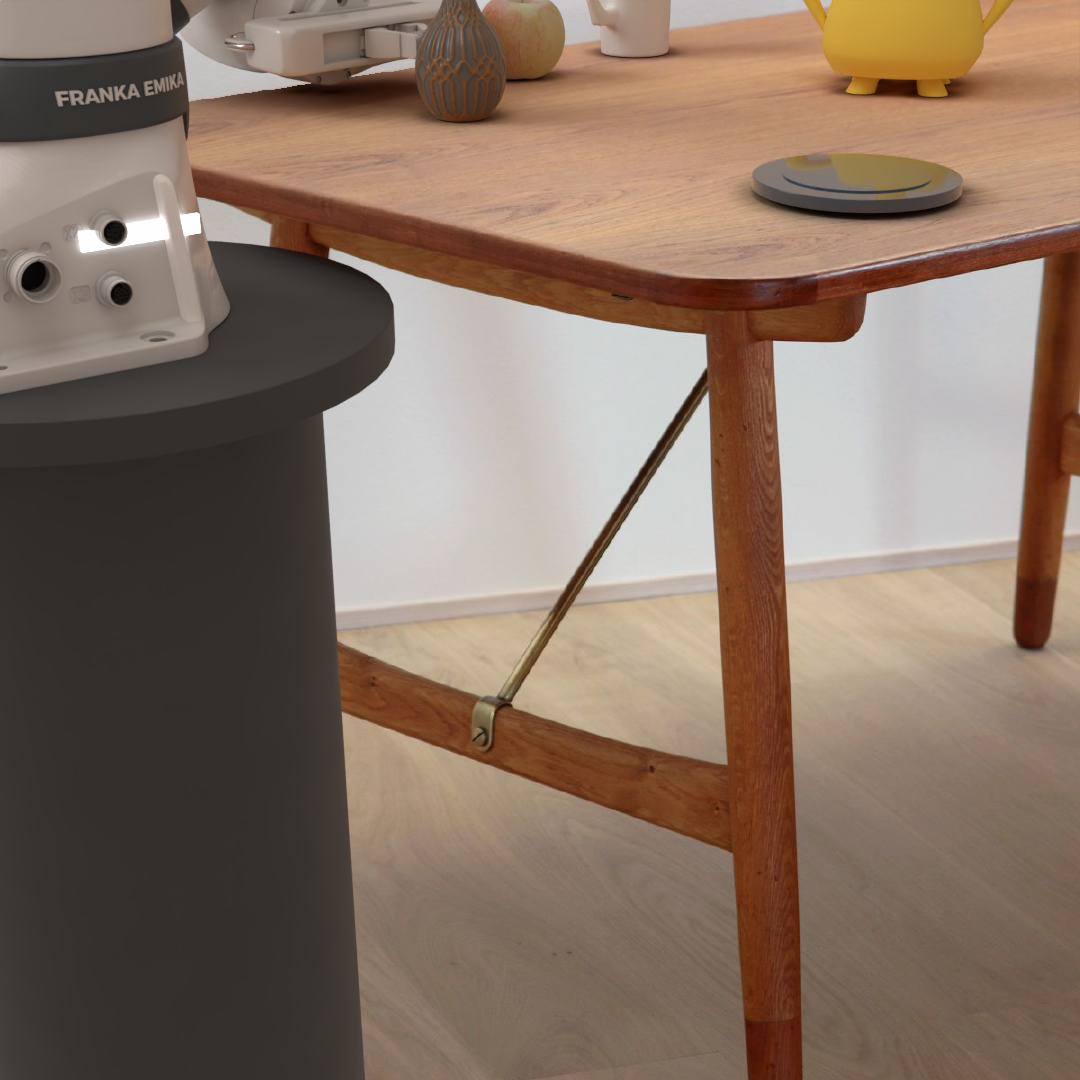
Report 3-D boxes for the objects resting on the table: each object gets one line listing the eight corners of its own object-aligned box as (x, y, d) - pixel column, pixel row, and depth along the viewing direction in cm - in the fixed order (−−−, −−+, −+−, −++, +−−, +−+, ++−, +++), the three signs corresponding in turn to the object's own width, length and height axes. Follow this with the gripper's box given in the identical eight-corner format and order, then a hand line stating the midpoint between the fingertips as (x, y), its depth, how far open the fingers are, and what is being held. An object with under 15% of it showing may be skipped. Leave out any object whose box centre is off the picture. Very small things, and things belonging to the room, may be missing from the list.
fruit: (507, 67, 153) (506, -28, 150) (579, 74, 149) (579, -23, 146) (459, 80, 147) (456, -18, 144) (532, 88, 143) (532, -13, 140)
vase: (420, 127, 129) (416, 5, 125) (413, 110, 135) (409, -7, 131) (512, 124, 130) (511, 2, 126) (501, 107, 136) (499, -10, 132)
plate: (880, 231, 100) (881, 209, 100) (708, 195, 109) (709, 174, 108) (1002, 193, 109) (1004, 172, 108) (834, 162, 117) (835, 143, 116)
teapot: (1026, 90, 141) (1043, -63, 136) (895, 108, 134) (908, -52, 129) (907, 66, 152) (919, -77, 147) (780, 82, 145) (788, -67, 140)
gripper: (209, 0, 134) (320, 17, 125) (409, -24, 147) (523, -10, 138) (216, 83, 136) (325, 106, 127) (412, 53, 149) (524, 71, 140)
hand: (430, 45), depth 133 cm, fingers closed, pressing on vase
